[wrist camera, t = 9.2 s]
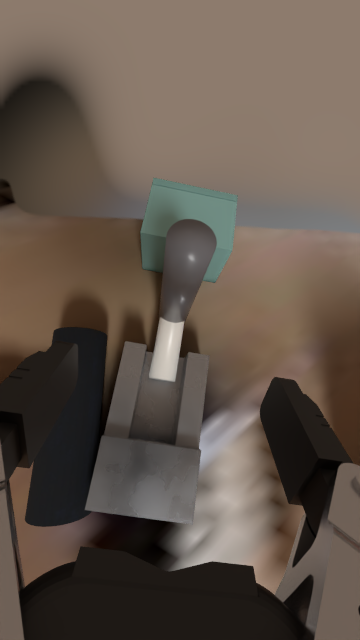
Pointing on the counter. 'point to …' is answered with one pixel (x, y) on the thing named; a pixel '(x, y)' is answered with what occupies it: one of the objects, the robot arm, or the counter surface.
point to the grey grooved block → (151, 440)
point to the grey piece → (179, 290)
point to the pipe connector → (71, 439)
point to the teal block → (187, 203)
